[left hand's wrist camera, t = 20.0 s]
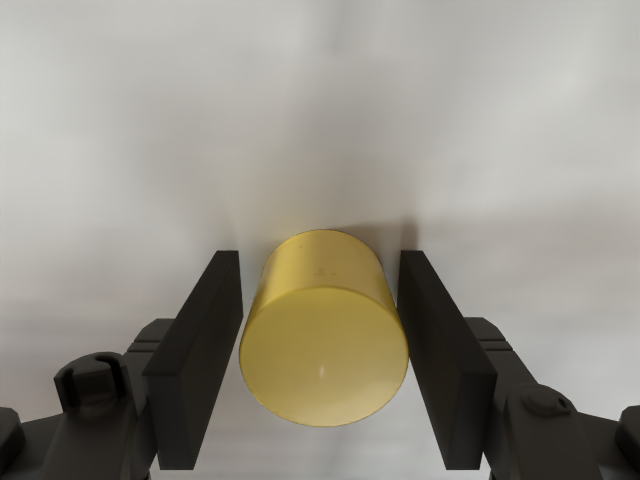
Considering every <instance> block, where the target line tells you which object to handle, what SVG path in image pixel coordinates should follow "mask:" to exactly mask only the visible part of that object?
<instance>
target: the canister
mask: <svg viewBox="0 0 640 480" xmlns="http://www.w3.org/2000/svg"><path fill="white" fill-rule="evenodd" d="M408 362H409V347H408V342H407V338H406V335H405V332H404V329H403V326H402V324H401V321H400V318H399V315H398V312H397V309H396V306H395V303H394V301H393V298H392V295H391V292H390V289H389V286H388V283H387V280H386V278H385V275H384V272H383V269H382V266H381V264H380V262H379V260H378V258H377V257H376V255H375V254H374V253H373V251H372V250H371V249H370V248H369V247H368V246H367V245H365V244H364V243H363V242H361V241H360V240H358V239H357V238H355V237H353V236H351V235H348V234H346V233H342V232H339V231H333V230H312V231H307V232H303V233H300V234H298V235H295V236H293V237H291V238H289V239H288V240H286V241H285V242H283V243H282V244H281V245H279V246H278V247H277V248H276V249H275V250H274V251H273V253H272V254H271V255H270V257H269V258H268V260H267V261H266V263H265V266H264V268H263V271H262V274H261V277H260V281H259V284H258V287H257V290H256V293H255V296H254V300H253V303H252V306H251V309H250V312H249V316H248V319H247V322H246V325H245V328H244V331H243V335H242V338H241V342H240V347H239V364H240V369H241V373H242V376H243V378H244V381H245V383H246V385H247V387H248V389H249V390H250V392H251V393H252V394H253V396H254V397H255V398H256V399H257V400H258V401H259V402H260V403H261V404H262V405H263V406H264V407H265V408H267V409H268V410H269V411H271V412H273V413H274V414H276V415H277V416H279V417H282V418H284V419H286V420H288V421H291V422H294V423H298V424H302V425H307V426H315V427H332V426H340V425H346V424H349V423H353V422H356V421H359V420H361V419H364V418H366V417H368V416H370V415H372V414H373V413H375V412H376V411H378V410H379V409H381V408H382V407H383V406H384V405H386V404H387V403H388V402H389V401H390V400H391V399H392V397H393V396H394V395H395V394H396V392H397V391H398V389H399V388H400V386H401V384H402V382H403V380H404V378H405V375H406V372H407V368H408Z"/></svg>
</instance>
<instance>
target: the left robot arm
mask: <svg viewBox="0 0 640 480" xmlns="http://www.w3.org/2000/svg"><path fill="white" fill-rule="evenodd" d="M397 312H398V315H399V318H400V321H401V324H402V326H403V329H404V332H405V335H406V338H407V342H408V347H409V357H410V360H411V363H412V367H413V370H414V373H415V376H416V379H417V382H418V385H419V388H420V391H421V394H422V397H423V400H424V403H425V406H426V409H427V412H428V415H429V418H430V421H431V425H432V428H433V431H434V434H435V437H436V440H437V443H438V446H439V449H440V452H441V455H442V458H443V461H444V464H445V467H446V470H479V469H480V464H481V459H482V454H483V452H484V454H485V457H486V459H487V461H488V463H489V466H490V468H491V472H490V477H489V480H640V405H637V406H629V407H627V408H626V409H625V410H623V411H622V414H621V417H620V420H619V422H618V421H614V420H609V419H605V418H601V417H596V416H592V415H587V414H584V413H581V412H577V410H576V408H575V407H574V405H573V404H572V402H571V401H570V400H568V399H567V398H566V397H565V396H564V395H562V394H561V393H560V392H558V391H556V390H554V389H552V388H550V387H548V386H545V385H541V384H538V383H537V381H536V380H535V379H534V377H533V376H532V375H531V373H530V372H529V370H528V369H527V368H526V366H525V365H524V364H523V362H522V361H521V359H520V358H519V357H518V355H517V354H516V353H515V351H513V348H512V347H511V346H510V344H509V343H508V342H507V341H506V339H505V337H504V336H503V335H502V333H501V332H500V331H499V329H498V328H497V327H496V326H494V325H493V324H492V323H490V322H489V321H487V320H486V319H484V318H483V317H463V316H462V314H461V312H460V311H459V309H458V308H457V306H456V304H455V303H454V301H453V299H452V298H451V296H450V295H449V293H448V291H447V290H446V288H445V286H444V285H443V283H442V282H441V280H440V278H439V277H438V275H437V273H436V272H435V270H434V269H433V267H432V265H431V264H430V262H429V260H428V259H427V257H426V256H425V254H424V252H423V251H401V261H400V273H399V286H398V299H397ZM242 319H243V304H242V292H241V279H240V267H239V254H238V251H217V252H216V253H215V255H214V256H213V258H212V260H211V261H210V263H209V265H208V266H207V268H206V269H205V271H204V273H203V274H202V276H201V278H200V279H199V281H198V282H197V284H196V286H195V287H194V289H193V290H192V292H191V294H190V295H189V297H188V299H187V300H186V302H185V303H184V305H183V307H182V308H181V310H180V312H179V313H178V315H177V316H176V318H175V319H156V320H154V321H153V322H151V323H150V324H149V325H147V326H146V327H144V328H143V329H142V330H141V332H140V333H139V334H138V336H137V337H136V338H135V340H134V343H132V344H131V345H130V347H129V348H128V350H127V353H125V354H124V355H123V356H122V355H121V354H118V353H114V352H97V353H93V354H89V355H86V356H83V357H80V358H78V359H76V360H74V361H72V362H70V363H69V364H67V365H66V366H65V367H63V368H62V369H60V371H59V372H58V373H57V374H56V376H55V377H54V378H53V379H54V382H55V385H56V389H57V392H58V396H59V399H60V402H61V406H62V409H63V413H61V414H58V415H55V416H51V417H47V418H42V419H38V420H33V421H29V422H25V423H21V421H20V419H19V416H18V413H17V412H15V411H14V410H13V409H12V408H5V407H0V480H151V477H150V472H149V469H150V467H151V464H152V462H153V460H154V458H155V455H156V453H157V456H158V461H159V466H160V470H193V469H194V466H195V463H196V460H197V457H198V454H199V451H200V448H201V444H202V441H203V438H204V435H205V432H206V429H207V426H208V423H209V420H210V417H211V414H212V411H213V408H214V405H215V402H216V399H217V396H218V393H219V390H220V386H221V383H222V380H223V377H224V374H225V371H226V368H227V365H228V362H229V359H230V356H231V353H232V350H233V347H234V344H235V341H236V338H237V335H238V332H239V328H240V325H241V322H242Z"/></svg>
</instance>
